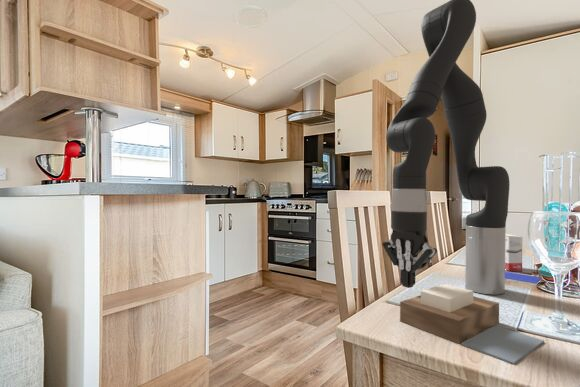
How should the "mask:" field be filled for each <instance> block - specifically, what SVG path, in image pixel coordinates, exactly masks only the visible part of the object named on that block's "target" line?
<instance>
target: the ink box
mask: <svg viewBox="0 0 580 387" xmlns="http://www.w3.org/2000/svg"><path fill="white" fill-rule="evenodd" d="M505 239H506V241H505V269H506V270H505V271H507V270H508V271H507V272H521V271H520V270H522V271H523V236H519V235H515V234H510V233H506V236H505Z"/></svg>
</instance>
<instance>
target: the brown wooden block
mask: <svg viewBox="0 0 580 387" xmlns="http://www.w3.org/2000/svg"><path fill="white" fill-rule="evenodd" d="M399 306H400V307H399V308H400V310H399V322H402V323H404V324H406V325H409V326H410V327H411V326H412V327H415V328H417V329H419V330H422V331H425V332H427V333H430V334H433V335H435V336H438V337H441V338H443V339H446V340H449V341H451V342H454V343H456V344H462V342H464V341H466V340H468V339H470V338H472V337H474V336H476V335H478V334H479V333H481V332H483V331H485V330H487V329H489V328H491V327H493V326H495V325H497V324H498V323H500V302H497V301H493V300H490V299H486V298H482V297H478V296H474V295H473V303H472V304H470V305H467V306H465V307H462V308H460V309H457V310H455V311H452V312H446V311H443V310H440V309H437V308H434V307H430V306H427V305H424V304H421V294H420V295H417V296H415V297H411V298H407V299H404V300H402V301H400V302H399Z"/></svg>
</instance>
